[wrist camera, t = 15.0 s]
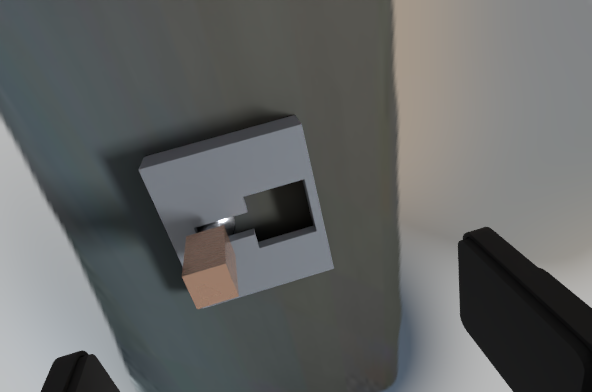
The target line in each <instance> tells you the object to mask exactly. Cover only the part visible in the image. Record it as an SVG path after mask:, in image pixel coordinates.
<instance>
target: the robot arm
mask: <svg viewBox="0 0 592 392" xmlns="http://www.w3.org/2000/svg"><path fill="white" fill-rule="evenodd" d="M458 259H459V260H458V261H459V291H460V292H459V293H460V317H461V321H462V323H463V325H464V327H465V329H466V330H467V332H468V333H469V334H470V336H471V337H472V338H473V339H474V341H475V342H476V343H477V345H478V346H479V347H480V349H481V350H482V351H483V352H484V354H485V355H486V357H487V358H488V359H489V361H490V362H491V363H492V364H493V366H494V367H495V368H496V370H497V371H498V372H499V374H500V375H501V376H502V377H503V379H504V380H505V381H506V383H507V384H508V385H509V387H510V388H511V389H512V391H513V392H592V308H591V307H589V306H588V305H587V304H585V302H583V301H582V300H581V299H580V298H578V297H577V296H576V295H575V294H573V293H572V292H571V291H570V290H568V289H567V288H566V287H565V286H564V285H563V284H561V283H560V282H559V281H558V280H557V279H555V278H554V277H553V276H552V275H550V274H549V273H548V272H546V271H545V270H543V269H541V268H538V267H537V266H535V265H534V264H533V263H532V262H531V261H529V260H528V259H527V258H526V257H525V256H523V255H522V254H521V253H520V252H519V251H517V250H516V249H515V248H514V247H513V246H511V245H510V244H509V243H508V242H506V241H505V240H504V239H503V238H502V237H500V236H499V235H498V234H497V233H496V232H494V231H493V230H492V229H491V228H489V227H484V228H481V229H477V230H474V231H471V232H467V233H465V234H464V236H463V240H461V241H459V243H458ZM41 392H120V391H119V389H118V388H117V386H116V385H115V384H114V382H113V381H112V379H111V378H110V376H109V375H108V373H107V372H106V370H105V369H104V367H103V366H102V365H101V363H100V362H99V360H98V359H97V357H96V356H95V355H93V354H91V355H88V353H87V352H85V351H79V352H75V353H72V354H69V355H66V356H62V357H59V358H57V359H56V360H55V361H54V363H53V365H52V367H51V369H50V371H49V374H48V376H47V378H46V381H45V383H44V385H43V388H42V390H41Z"/></svg>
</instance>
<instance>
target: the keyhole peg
mask: <svg viewBox="0 0 592 392" xmlns="http://www.w3.org/2000/svg"><path fill="white" fill-rule="evenodd" d="M196 228H197V230H198V233H196V234H192V235H189V236H186V243H185V252H184V261H183V271H182V278H183V280H184V282H185V285H186V287H187V289H188V291H189V293H190V295H191V297H192V299H193V301H194V303H195V305H196V307H197V309H200V308H203V307H206V306H209V305H213V304H216V303H219V302H222V301H226V300H229V299H232V298H235V297H239V291H238V280H237V268H236V257H235V253H234V250H233V248H232V245H231V242H230V240H229V237H228V236H230V235H232V234H233V232H234V229H235V219H234V216H233V217H230V218H226V219H223V220H219V221H216V222H213V223H209V224H206V225H202V226H199V227H196Z"/></svg>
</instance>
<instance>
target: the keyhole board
mask: <svg viewBox="0 0 592 392" xmlns="http://www.w3.org/2000/svg"><path fill="white" fill-rule="evenodd" d="M139 172H140V174H141V177H142V179H143V181H144V183H145V185H146V187H147V190H148V192H149V194H150V196H151V198H152V201H153V203H154V205H155V207H156V209H157V212H158V214H159V216H160V218H161V220H162V223H163V225H164V227H165V229H166V231H167V233H168V236H169V238H170V240H171V242H172V244H173V247H174V249H175V251H176V253H177V255H178V258H179V260H180V262H181V264H182V266H183V261H184V252H185V243H186V236H189V235H192V234H196V233H198V230H197V228H196V227H199V226H202V225H206V224H209V223H213V222H216V221H219V220H223V219H226V218H230V217H233V216H237V215H240V214H243V213H247V207H246V203H245V200H244V196H248V195H251V194H255V193H258V192H262V191H265V190H269V189H272V188H275V187H279V186H282V185H286V184H289V183H293V182H296V181H300V180H302V181H303V185H304V189H305V193H306V197H307V202H308V206H309V210H310V214H311V218H312V222H313V226H310V227H307V228H304V229H300V230H297V231H294V232H290V233H287V234H284V235H280V236H277V237H273V238H270V239H267V240H263V241H260V242H258V240H257V237H256V234H255V231H254V229H250V230H247V231H244V232H240V233H237V234H233V235H230V236H228V237H229V240H230V242H231V245H232V248H233V250H234V253H235V257H236V268H237V280H238V291H239V297H243V296H246V295H249V294H252V293H256V292H259V291H262V290H265V289H269V288H272V287H275V286H279V285H282V284H285V283H288V282H292V281H295V280H298V279H301V278H305V277H308V276H311V275H315V274H318V273H321V272H324V271H328V270H331V269H334V266H333V262H332V257H331V253H330V248H329V244H328V240H327V235H326V231H325V226H324V222H323V217H322V213H321V208H320V204H319V199H318V195H317V190H316V186H315V181H314V177H313V173H312V168H311V164H310V159H309V155H308V150H307V146H306V141H305V137H304V132H303V128H302V124H301V123H300V121H299V120H298V118H297V117H296V115H293V116H289V117H286V118H282V119H279V120H275V121H271V122H268V123H264V124H261V125H257V126H253V127H250V128H246V129H242V130H239V131H235V132H232V133H228V134H224V135H221V136H217V137H214V138H210V139H206V140H203V141H199V142H196V143H192V144H188V145H185V146H181V147H178V148H174V149H170V150H167V151H163V152H160V153H156V154H152V155H149V156H145V157H144V158H143V160H142V162H141V165H140V167H139ZM239 297H235V298H232V299H229V300H233V299H236V298H239ZM229 300H226V301H229ZM226 301H222V302H219V303H216V304H220V303H223V302H226ZM216 304H213V305H216ZM213 305H209V306H206V307H210V306H213ZM206 307H203V308H206ZM203 308H202V309H203Z"/></svg>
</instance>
